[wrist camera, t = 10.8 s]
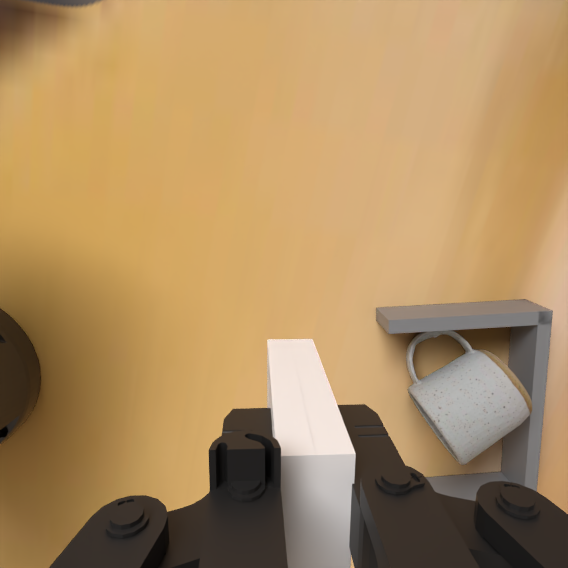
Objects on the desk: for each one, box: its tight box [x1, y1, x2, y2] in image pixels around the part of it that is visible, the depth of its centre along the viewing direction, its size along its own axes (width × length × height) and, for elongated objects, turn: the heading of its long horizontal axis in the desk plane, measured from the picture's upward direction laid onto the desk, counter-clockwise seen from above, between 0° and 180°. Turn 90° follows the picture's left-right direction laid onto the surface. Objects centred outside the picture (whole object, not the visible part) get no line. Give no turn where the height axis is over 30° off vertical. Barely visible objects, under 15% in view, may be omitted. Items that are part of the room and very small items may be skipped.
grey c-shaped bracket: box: [376, 299, 553, 501], centre depth 42 cm, size 14×19×4 cm
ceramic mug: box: [406, 330, 532, 465], centre depth 39 cm, size 11×8×8 cm
